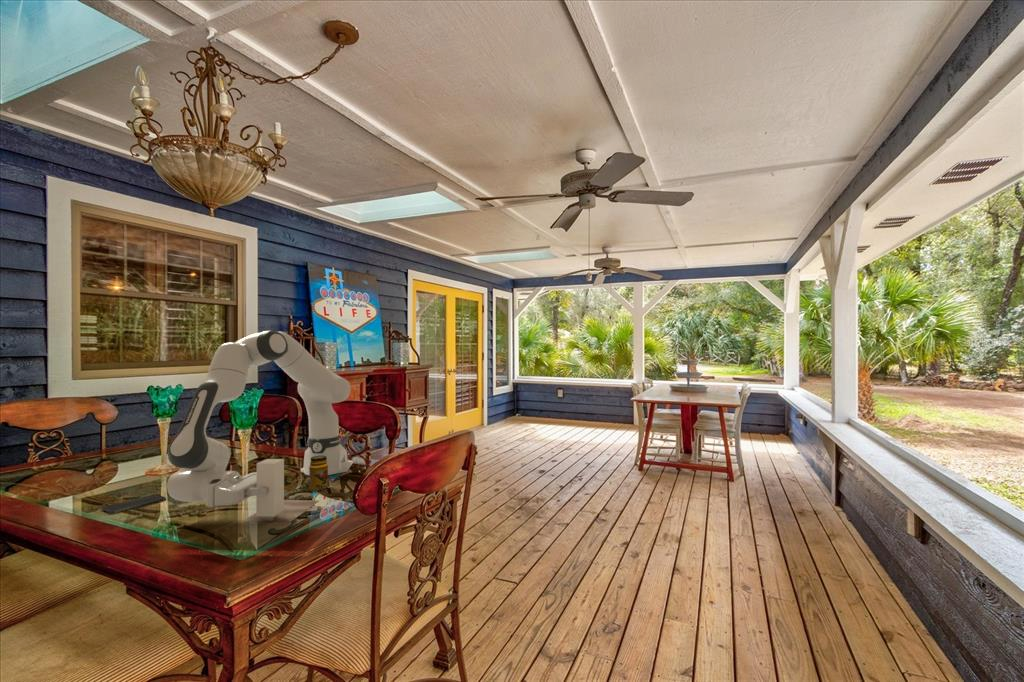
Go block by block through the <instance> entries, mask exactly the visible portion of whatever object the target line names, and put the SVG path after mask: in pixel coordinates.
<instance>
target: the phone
mask: <svg viewBox="0 0 1024 682" xmlns="http://www.w3.org/2000/svg"><path fill="white" fill-rule="evenodd" d="M163 500H165V501H166V500H167V497H166V496H162V495H160V494H151V495H146V496H142V497H138V498H134V499H131V500H127V501H126V500H125V501H121V502H118V503H113V504H110V505H106V506H102V507H101V511H102V510H103V511H102V512H104V511H106V512H108V513H107V514H109V513H115V514H118V513H117V512H119V513H122V512H121V511H123V512H126V511H125V510H127V511H129V510H128V509H131V510H134V509H133V508H135V509H138V508H137V507H139V508H141V507H140V506H143V507H145V506H144V505H147V506H149V505H148V504H151V505H153V504H152V503H155V502H158V503H160V502H159V501H162V502H164V501H163ZM155 504H156V503H155ZM106 512H105V513H106Z"/></svg>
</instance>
